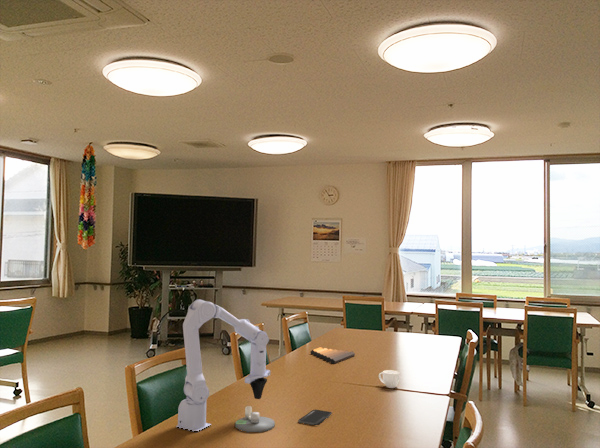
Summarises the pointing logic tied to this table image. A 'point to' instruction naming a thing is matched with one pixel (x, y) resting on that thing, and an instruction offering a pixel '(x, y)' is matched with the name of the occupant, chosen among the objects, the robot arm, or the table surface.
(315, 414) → the phone
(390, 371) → the cup
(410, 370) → the table surface
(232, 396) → the table surface
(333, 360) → the pan flute
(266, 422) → the dial plate
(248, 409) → the tuning lever
